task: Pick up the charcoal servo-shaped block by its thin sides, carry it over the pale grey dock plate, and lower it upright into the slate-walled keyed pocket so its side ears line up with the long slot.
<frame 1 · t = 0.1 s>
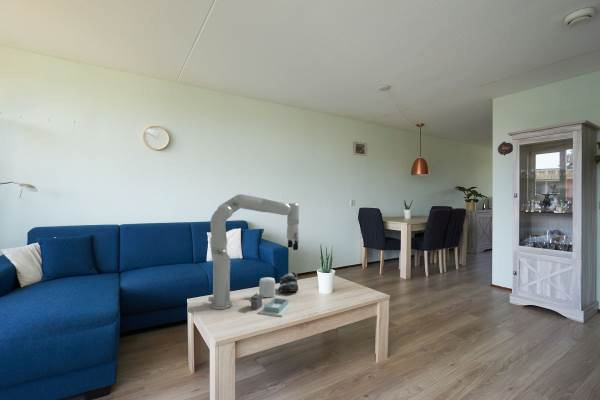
hand: (292, 248, 187), 31 cm above the table, tool pointing down, fingers open, 9 cm apart
dock: (276, 309, 166), on the table
photo printer: (267, 296, 187), on the table
dark grey rough lump: (287, 291, 197), on the table
servo block: (256, 307, 168), on the table
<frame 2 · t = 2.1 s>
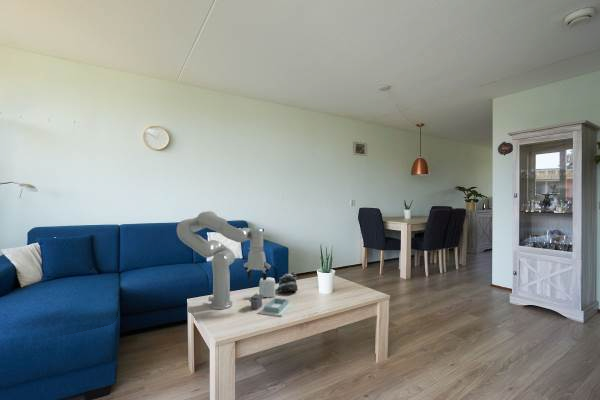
hand: (257, 278, 168), 17 cm above the table, tool pointing down, fingers open, 9 cm apart
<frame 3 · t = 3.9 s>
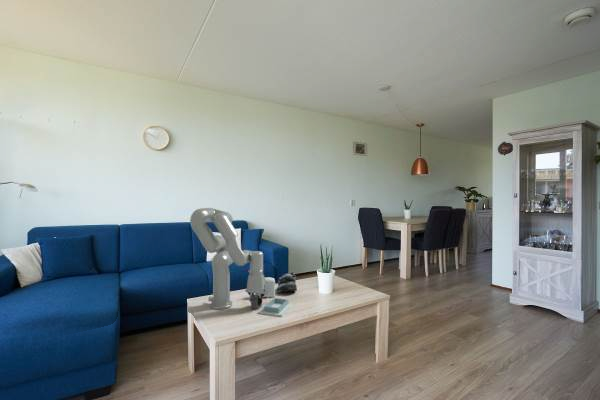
hand: (256, 303, 168), 2 cm above the table, tool pointing down, fingers closed on servo block, 4 cm apart
servo block: (256, 307, 168), on the table, touching gripper
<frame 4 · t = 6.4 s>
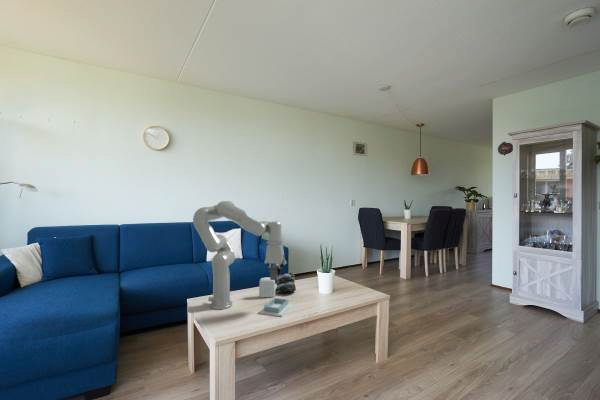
hand: (275, 274, 166), 20 cm above the table, tool pointing down, fingers closed on servo block, 4 cm apart
servo block: (275, 278, 166), point 18 cm above the table, touching gripper
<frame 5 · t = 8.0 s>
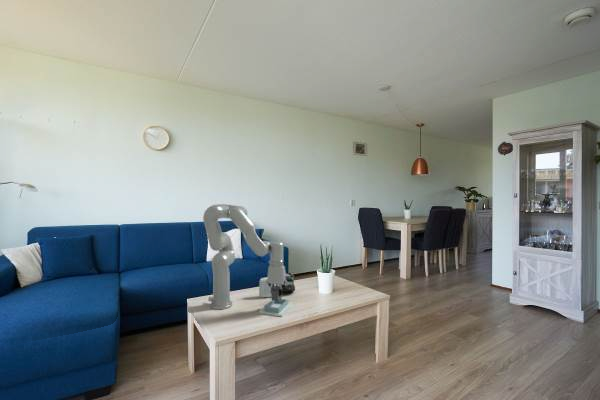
hand: (276, 294, 166), 8 cm above the table, tool pointing down, fingers closed on servo block, 4 cm apart
servo block: (276, 298, 166), point 6 cm above the table, touching gripper
when the fingers open (4 cm above the table, at t = 9.1 s): servo block stays where it is, resting on dock.
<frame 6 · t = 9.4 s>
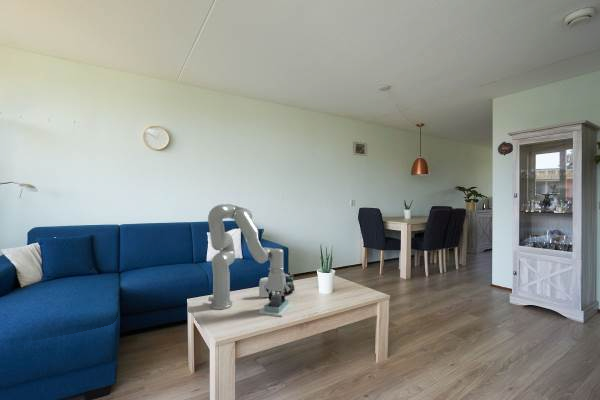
hand: (276, 300, 166), 5 cm above the table, tool pointing down, fingers open, 7 cm apart
servo block: (276, 307, 166), point 1 cm above the table, touching dock
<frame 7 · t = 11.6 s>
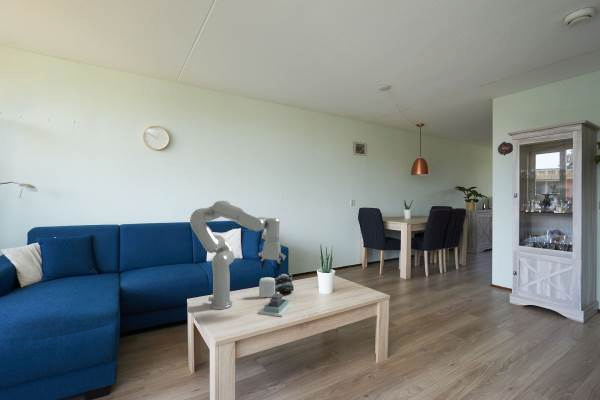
hand: (271, 268, 168), 23 cm above the table, tool pointing down, fingers open, 9 cm apart
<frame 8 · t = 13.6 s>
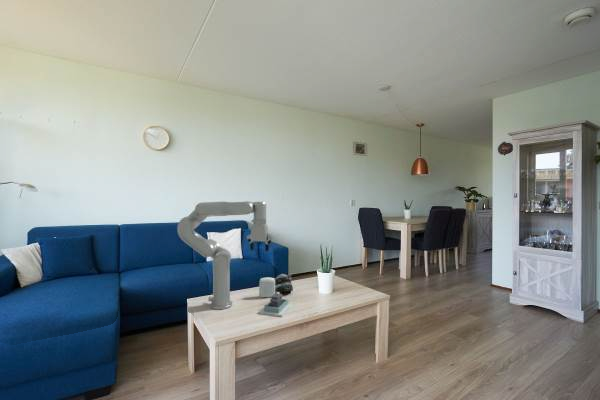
hand: (259, 250, 173), 32 cm above the table, tool pointing down, fingers open, 9 cm apart
at the end: servo block 0.0 cm off-centre on the dock, point 1.0 cm above the dock's base; servo block tilted 0°; the gripper is holding nothing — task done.
